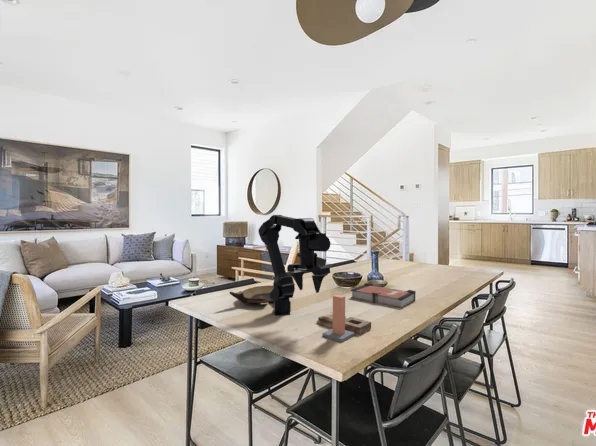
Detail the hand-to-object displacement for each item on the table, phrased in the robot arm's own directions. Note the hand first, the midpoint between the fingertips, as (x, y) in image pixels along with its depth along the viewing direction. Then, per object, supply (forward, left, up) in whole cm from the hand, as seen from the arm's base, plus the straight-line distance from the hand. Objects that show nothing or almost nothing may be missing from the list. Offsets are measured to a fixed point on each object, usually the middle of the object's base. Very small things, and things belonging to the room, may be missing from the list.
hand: (309, 291), depth 127 cm
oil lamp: (-16, +34, -13) cm, 40 cm away
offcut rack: (+12, -5, -12) cm, 18 cm away
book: (+44, +27, -13) cm, 53 cm away
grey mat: (+7, -14, -13) cm, 20 cm away
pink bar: (+7, -14, -12) cm, 20 cm away
